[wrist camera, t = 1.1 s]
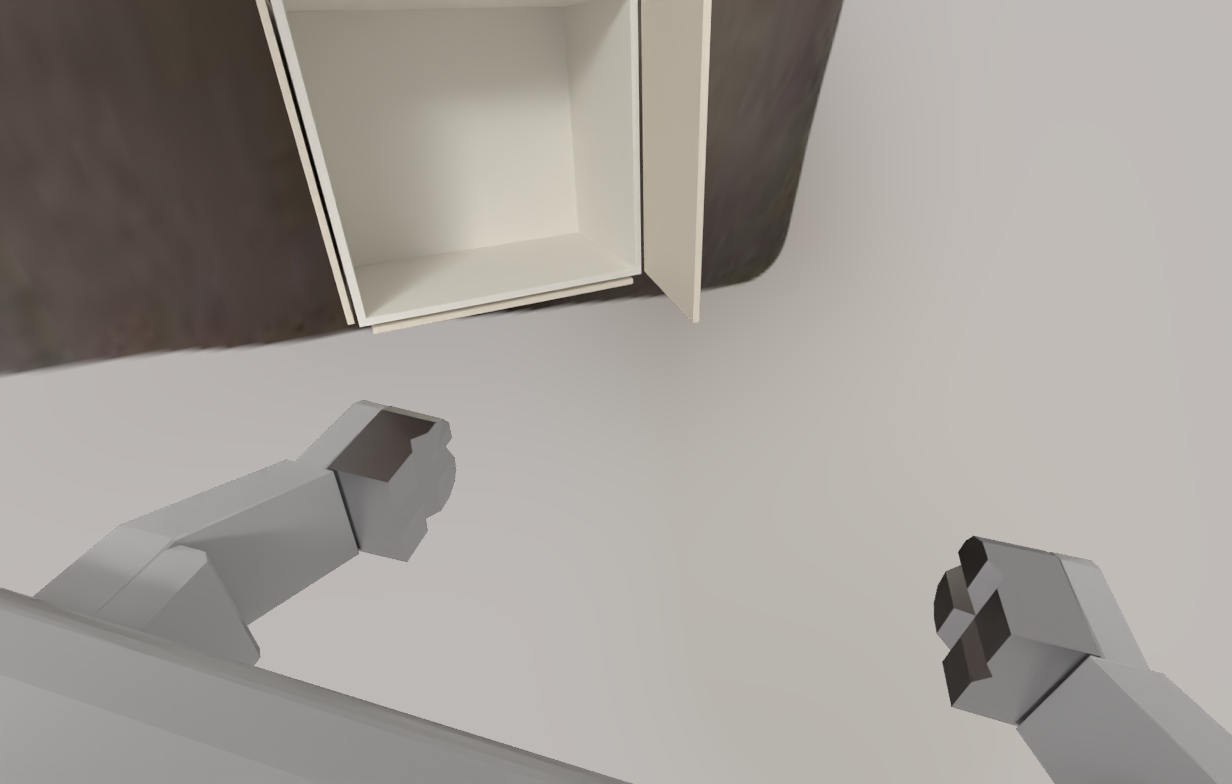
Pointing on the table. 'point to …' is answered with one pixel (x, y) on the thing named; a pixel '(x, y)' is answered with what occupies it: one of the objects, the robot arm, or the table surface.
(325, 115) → the carton
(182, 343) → the table surface
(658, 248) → the carton flap
